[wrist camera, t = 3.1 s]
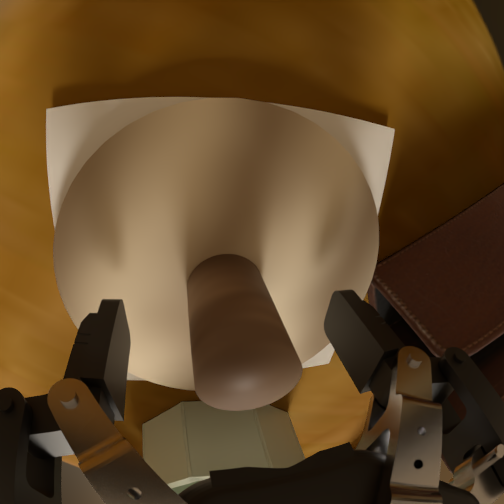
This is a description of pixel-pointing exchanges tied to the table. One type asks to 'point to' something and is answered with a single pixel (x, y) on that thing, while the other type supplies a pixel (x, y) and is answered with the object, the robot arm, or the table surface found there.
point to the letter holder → (451, 291)
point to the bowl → (217, 441)
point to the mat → (129, 110)
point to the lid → (218, 244)
